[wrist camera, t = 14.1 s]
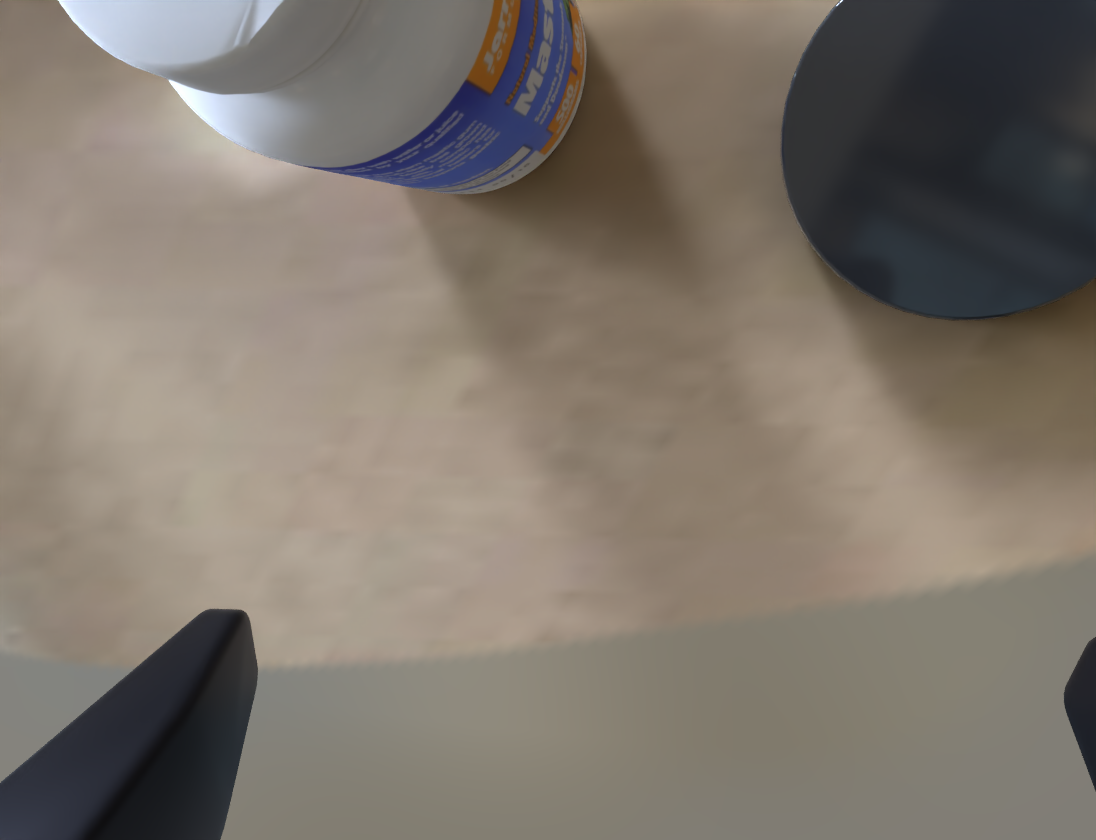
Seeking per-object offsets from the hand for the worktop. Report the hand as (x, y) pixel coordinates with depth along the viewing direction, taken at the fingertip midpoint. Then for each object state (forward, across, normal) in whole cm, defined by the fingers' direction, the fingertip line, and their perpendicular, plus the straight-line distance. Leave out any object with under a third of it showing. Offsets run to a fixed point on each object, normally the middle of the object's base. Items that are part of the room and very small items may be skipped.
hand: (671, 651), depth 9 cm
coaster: (+10, -7, -3) cm, 13 cm away
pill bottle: (+14, +3, -4) cm, 14 cm away
